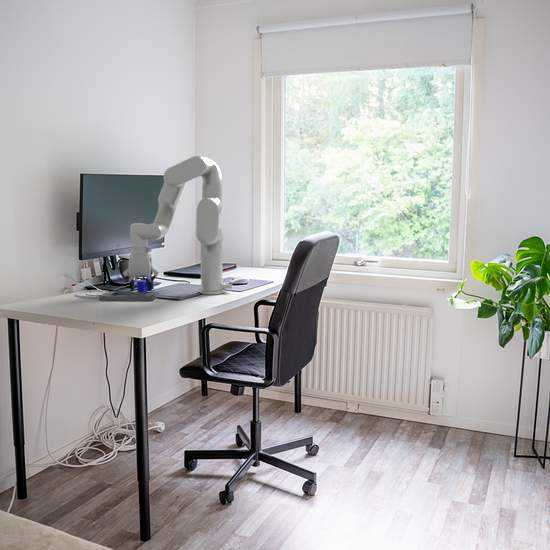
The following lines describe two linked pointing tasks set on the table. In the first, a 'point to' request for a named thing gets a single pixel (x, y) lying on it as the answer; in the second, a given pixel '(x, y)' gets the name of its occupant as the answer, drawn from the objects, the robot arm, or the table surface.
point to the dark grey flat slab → (128, 296)
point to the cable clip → (143, 286)
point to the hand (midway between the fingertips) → (141, 290)
